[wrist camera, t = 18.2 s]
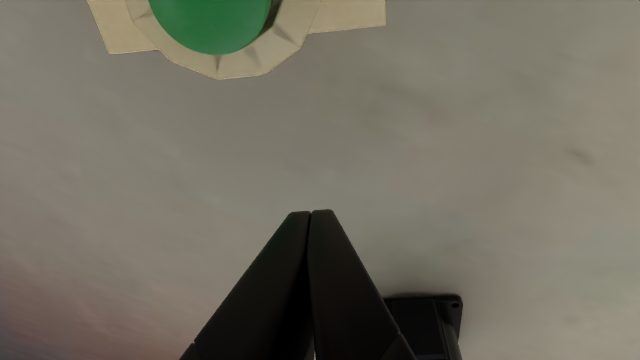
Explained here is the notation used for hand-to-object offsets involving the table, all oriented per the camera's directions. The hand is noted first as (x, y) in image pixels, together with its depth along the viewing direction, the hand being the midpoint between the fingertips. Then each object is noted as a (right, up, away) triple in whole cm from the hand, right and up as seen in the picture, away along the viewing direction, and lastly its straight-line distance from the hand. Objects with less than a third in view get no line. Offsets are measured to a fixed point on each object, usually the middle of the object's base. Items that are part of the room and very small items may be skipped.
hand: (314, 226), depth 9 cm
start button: (-3, +7, +6) cm, 10 cm away
